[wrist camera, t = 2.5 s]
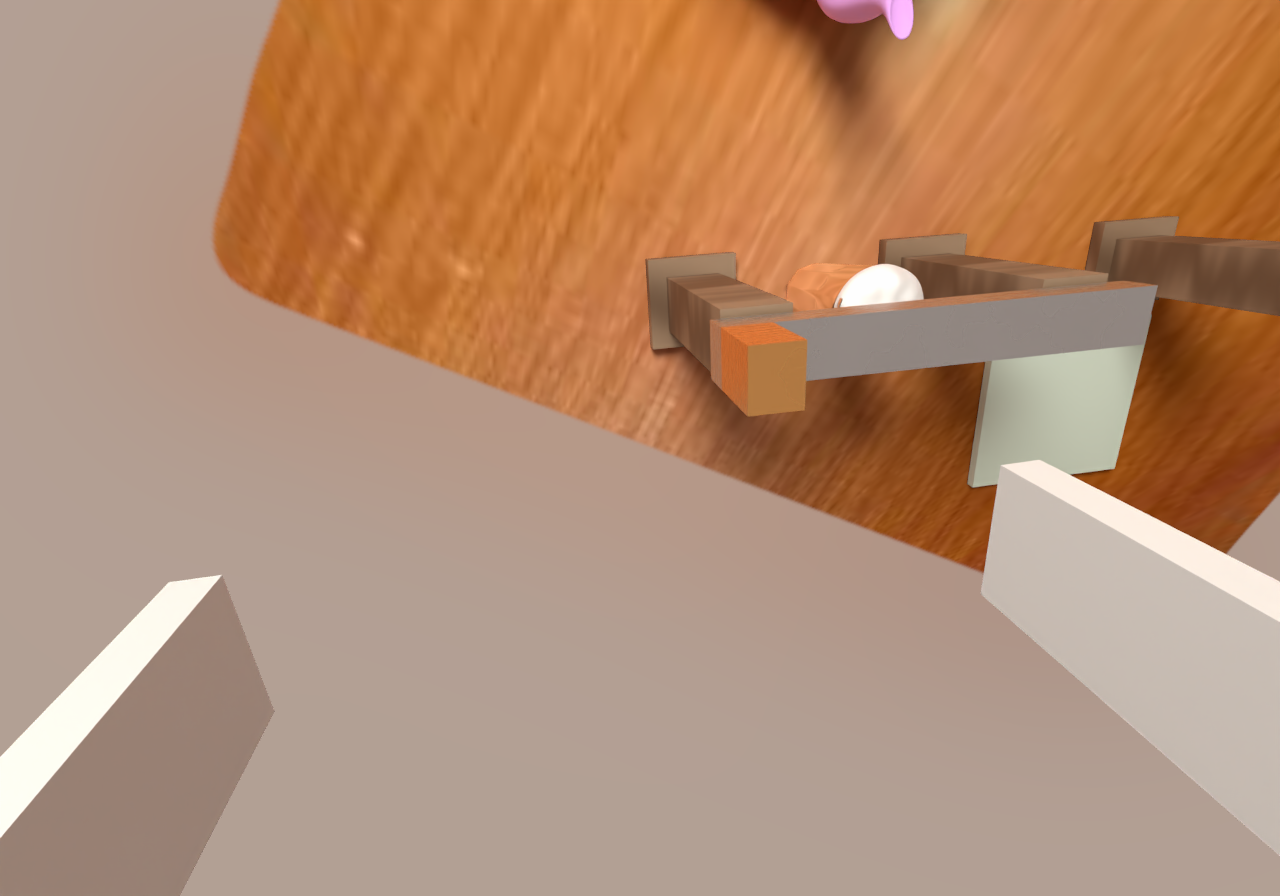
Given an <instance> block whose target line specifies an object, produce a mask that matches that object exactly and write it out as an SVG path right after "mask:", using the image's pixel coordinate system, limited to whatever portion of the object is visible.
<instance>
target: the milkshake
mask: <svg viewBox="0 0 1280 896" xmlns="http://www.w3.org/2000/svg"><path fill="white" fill-rule="evenodd" d="M923 299H924V298H923V291H922V287H921V285H920V283H919V281H918V279H917V278H916V277H915V276H914V275H913V274H912V273H911V272H909V271H908V270H906V269H904V268H901V267H899V266H895V265H891V264H876V265H849V264H826V263H813V264H811V265H808V266H806V267H803V268H800V269H798V270H797V271H796V273H795V274H794V276H793V277H792V278H791V280H790V281H789V283H788V284H787V298H786V300H787V301H790V302H792V303H793V312H796V311H807V310H817V309H828V308H838V307H849V306H860V305H870V304H881V303H891V302H902V301H913V300H923Z"/></svg>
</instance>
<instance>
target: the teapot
mask: <svg viewBox="0 0 1280 896" xmlns="http://www.w3.org/2000/svg"><path fill="white" fill-rule="evenodd" d="M817 2H818V4H819V6H820V8H821V9H822V10H823V12H824V13H825V15H827V16H828V17H829V18H831V19H833V20H835V21H838V22H841V23H862V22H866V21H869V20H872V19H874V18H876V17H878V16H879V15H881V14H883V15H884V16H885V18H886V20H887V22H888V24H889V27H890V29H891V31H892V32H893V34H894V35H895V36H896V37H897V38H898V39H901V40H903V39H906V38H907V37H908V36H909V35H910V32H911V30H912V26H913V14H914V11H913V2H912V0H817Z"/></svg>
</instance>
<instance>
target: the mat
mask: <svg viewBox="0 0 1280 896" xmlns="http://www.w3.org/2000/svg"><path fill="white" fill-rule="evenodd" d="M1151 317H1152V314H1151V316H1150V320H1149V324H1148V328H1147V333H1148V329H1149V325H1150V321H1151ZM1147 333H1146V337H1147ZM1146 337H1145V341H1144V344H1143V345H1134V346H1125V347H1116V348H1106V349H1097V350H1088V351H1079V352H1069V353H1060V354H1051V355H1041V356H1032V357H1023V358H1014V359H1004V360H995V361H986V362H985V367H984V374H983V381H982V387H981V394H980V401H979V408H978V414H977V421H976V428H975V435H974V442H973V448H972V455H971V462H970V469H969V475H968V482H967V484H968V485H970V486H971V487H980V486H987V485H995V484H998V479H999V473H1000V466H1001V465H1006V464H1013V463H1020V462H1027V461H1034V460H1041V461H1043V462H1045V463H1047V464H1049V465H1051V466H1053V467H1055V468H1057V469H1059V470H1061V471H1063V472H1065V473H1067V474H1069V475H1070V474H1078V473H1085V472H1093V471H1100V470H1108V469H1115V465H1116V461H1117V457H1118V452H1119V448H1120V444H1121V440H1122V436H1123V432H1124V428H1125V424H1126V420H1127V415H1128V411H1129V407H1130V403H1131V399H1132V395H1133V391H1134V387H1135V383H1136V379H1137V374H1138V370H1139V366H1140V362H1141V358H1142V354H1143V350H1144V346H1145V342H1146Z"/></svg>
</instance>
